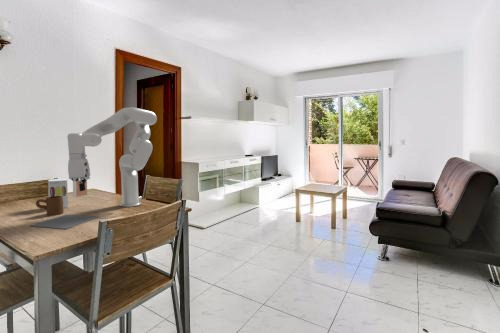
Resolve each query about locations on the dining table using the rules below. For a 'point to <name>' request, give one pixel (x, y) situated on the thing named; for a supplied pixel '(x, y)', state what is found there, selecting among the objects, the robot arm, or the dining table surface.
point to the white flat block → (78, 189)
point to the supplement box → (58, 189)
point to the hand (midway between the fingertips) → (80, 190)
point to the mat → (64, 221)
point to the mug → (52, 205)
